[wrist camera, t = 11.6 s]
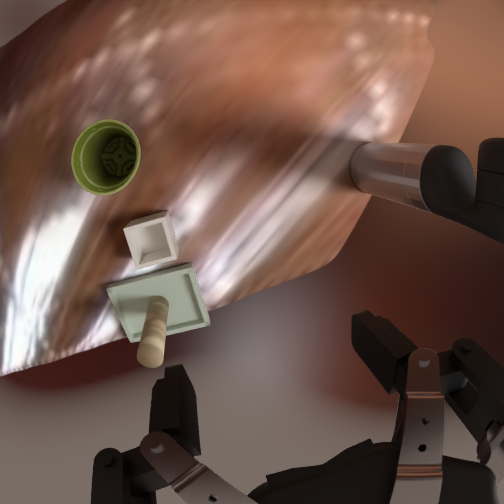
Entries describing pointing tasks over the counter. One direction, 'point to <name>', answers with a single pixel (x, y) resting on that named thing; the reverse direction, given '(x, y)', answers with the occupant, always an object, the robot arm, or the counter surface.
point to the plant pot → (105, 157)
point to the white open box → (152, 239)
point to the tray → (163, 284)
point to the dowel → (154, 333)
